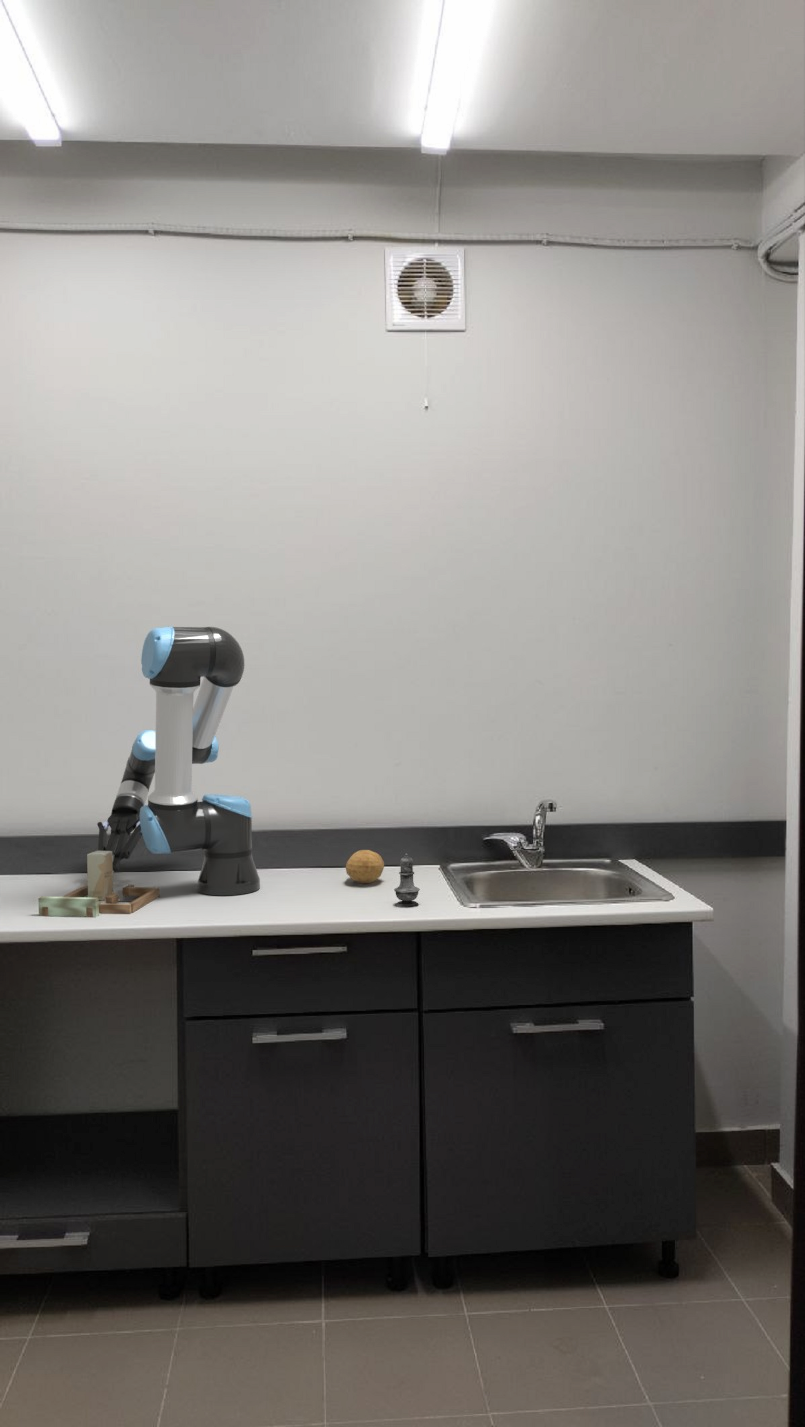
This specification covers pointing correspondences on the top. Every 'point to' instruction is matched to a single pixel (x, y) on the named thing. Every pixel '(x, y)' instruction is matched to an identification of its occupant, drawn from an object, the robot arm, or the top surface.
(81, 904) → the brown green flat frame
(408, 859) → the salt shaker
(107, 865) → the box
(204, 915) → the top surface
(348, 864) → the potato
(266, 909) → the top surface
